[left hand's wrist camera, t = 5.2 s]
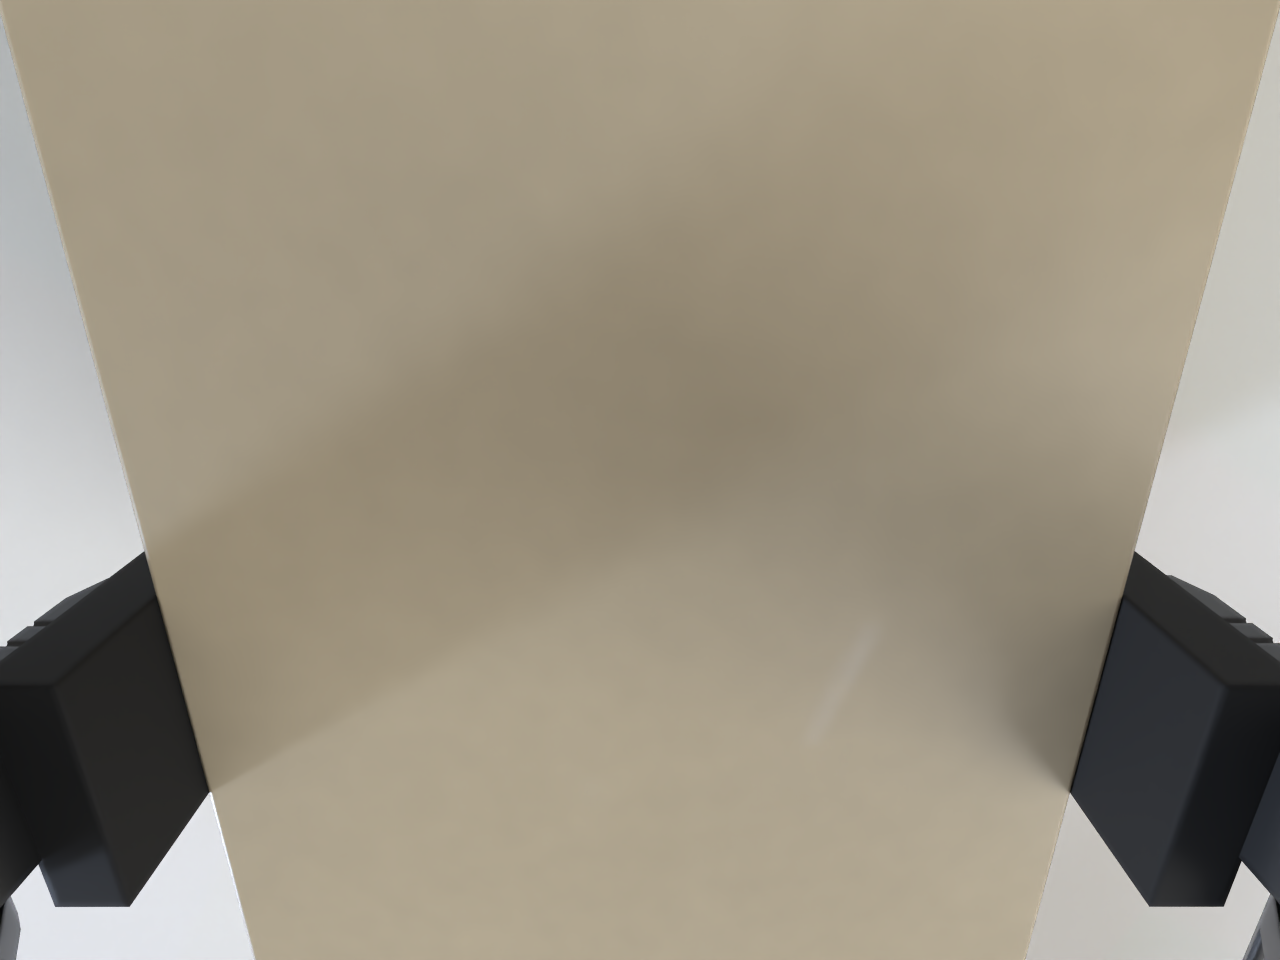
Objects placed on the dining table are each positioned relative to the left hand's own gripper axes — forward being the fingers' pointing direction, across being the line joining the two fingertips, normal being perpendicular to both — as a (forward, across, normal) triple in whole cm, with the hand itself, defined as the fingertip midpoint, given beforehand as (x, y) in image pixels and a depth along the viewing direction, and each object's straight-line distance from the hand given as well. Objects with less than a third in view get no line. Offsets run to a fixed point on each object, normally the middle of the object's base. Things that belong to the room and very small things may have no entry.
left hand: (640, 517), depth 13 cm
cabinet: (+4, 0, -5) cm, 6 cm away
